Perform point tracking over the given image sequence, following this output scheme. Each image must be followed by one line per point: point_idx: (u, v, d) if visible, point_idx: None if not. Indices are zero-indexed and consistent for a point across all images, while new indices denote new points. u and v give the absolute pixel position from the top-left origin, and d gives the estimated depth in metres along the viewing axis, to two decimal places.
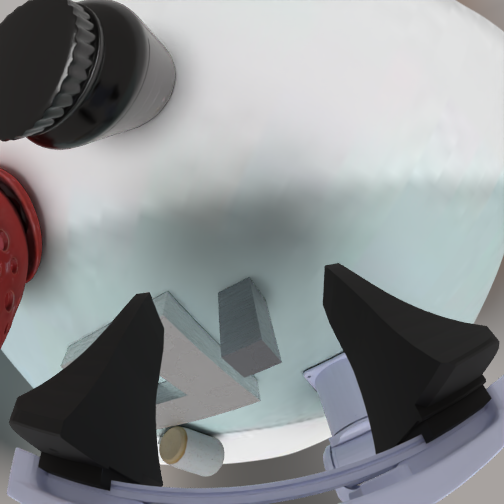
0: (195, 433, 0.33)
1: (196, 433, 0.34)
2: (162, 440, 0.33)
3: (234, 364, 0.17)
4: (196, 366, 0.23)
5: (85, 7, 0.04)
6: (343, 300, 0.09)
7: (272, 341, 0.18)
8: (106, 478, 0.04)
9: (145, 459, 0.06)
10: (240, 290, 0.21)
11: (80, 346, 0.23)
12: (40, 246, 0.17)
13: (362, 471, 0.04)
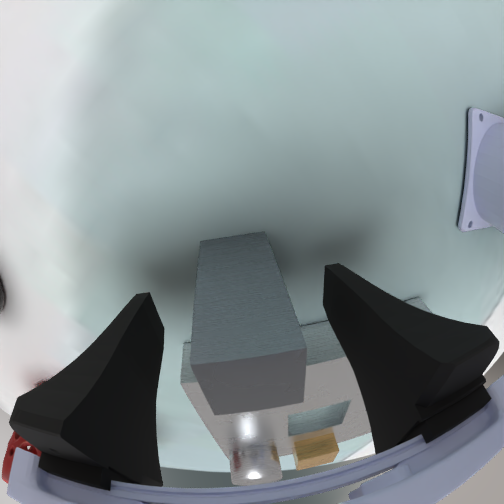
0: None
1: None
2: None
3: (247, 408, 0.08)
4: None
5: None
6: (344, 299, 0.09)
7: (262, 319, 0.08)
8: (106, 478, 0.04)
9: (145, 459, 0.06)
10: None
11: None
12: None
13: (362, 471, 0.04)
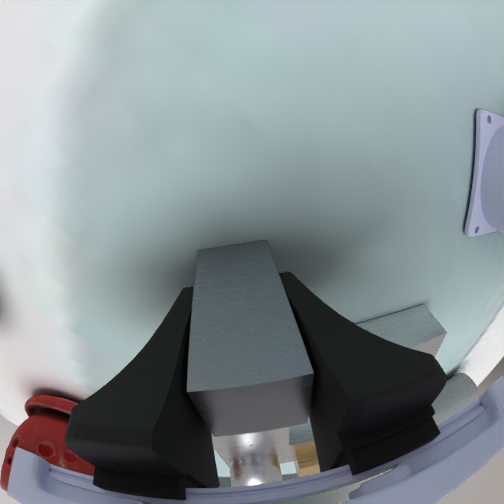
0: None
1: None
2: None
3: (249, 430, 0.07)
4: None
5: None
6: None
7: (264, 341, 0.07)
8: (182, 487, 0.04)
9: (207, 460, 0.06)
10: None
11: None
12: None
13: (362, 471, 0.04)
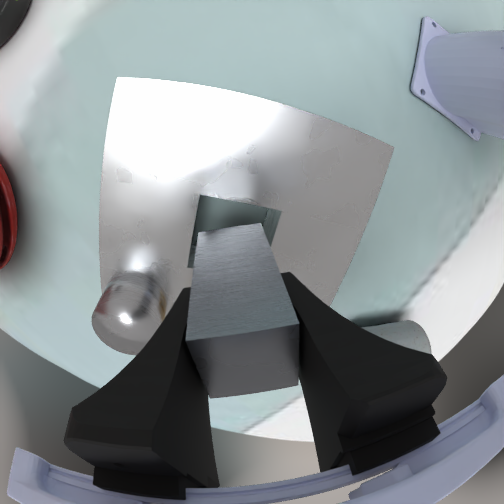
0: (369, 327, 0.23)
1: (371, 326, 0.23)
2: None
3: (242, 390, 0.08)
4: (232, 122, 0.12)
5: None
6: None
7: (256, 299, 0.08)
8: (182, 487, 0.04)
9: (207, 460, 0.06)
10: None
11: None
12: (1, 170, 0.12)
13: (362, 471, 0.04)
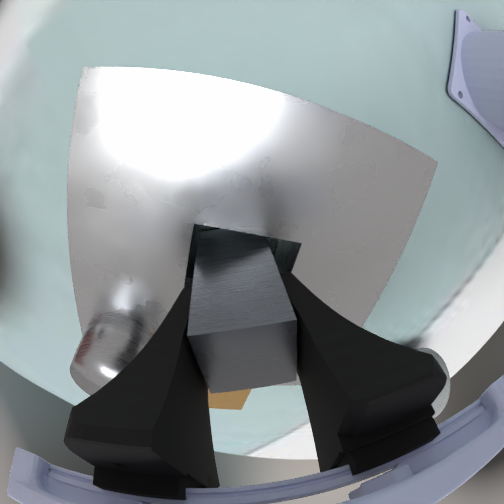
0: None
1: None
2: None
3: (242, 385, 0.08)
4: (238, 124, 0.09)
5: None
6: None
7: (255, 296, 0.08)
8: (182, 487, 0.04)
9: (207, 460, 0.06)
10: None
11: None
12: None
13: (362, 471, 0.04)
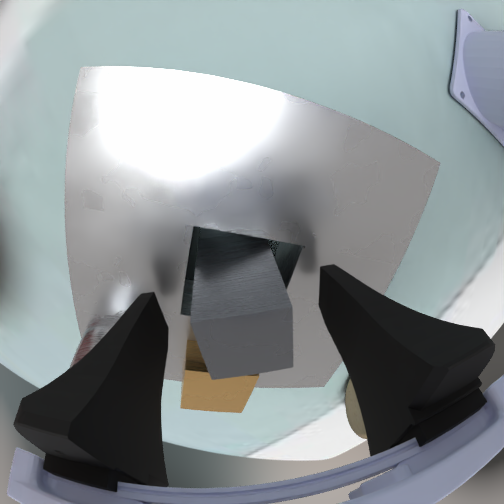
0: None
1: None
2: (347, 407, 0.21)
3: (242, 371, 0.09)
4: (238, 124, 0.09)
5: None
6: (338, 301, 0.09)
7: (253, 285, 0.09)
8: (113, 479, 0.04)
9: (151, 459, 0.06)
10: None
11: None
12: None
13: (362, 471, 0.04)
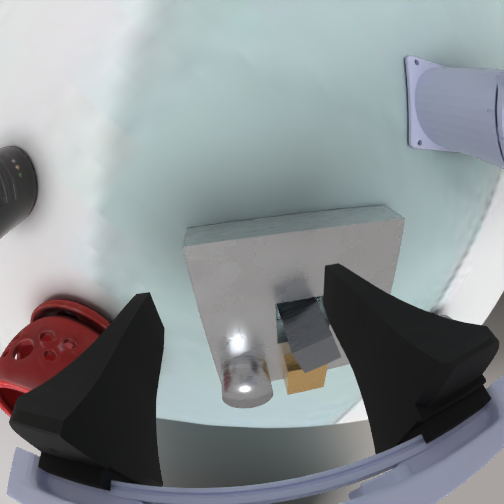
0: None
1: None
2: None
3: (318, 365, 0.19)
4: (285, 254, 0.18)
5: None
6: (343, 300, 0.09)
7: (313, 328, 0.18)
8: (106, 478, 0.04)
9: (145, 459, 0.06)
10: None
11: None
12: (95, 316, 0.21)
13: (362, 471, 0.04)
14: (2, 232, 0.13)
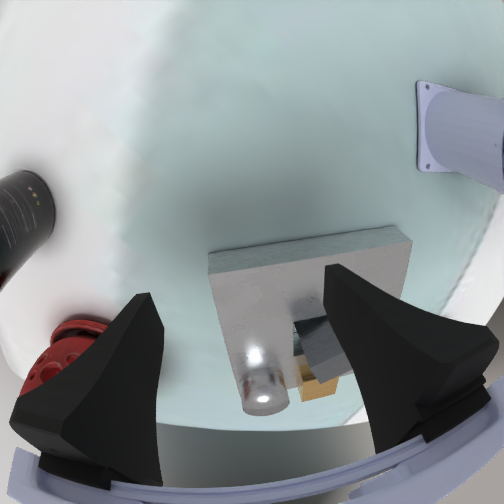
0: None
1: None
2: None
3: (332, 377, 0.20)
4: (303, 278, 0.19)
5: None
6: (343, 300, 0.09)
7: (329, 344, 0.19)
8: (106, 478, 0.04)
9: (145, 459, 0.06)
10: None
11: None
12: None
13: (362, 471, 0.04)
14: (24, 261, 0.14)
